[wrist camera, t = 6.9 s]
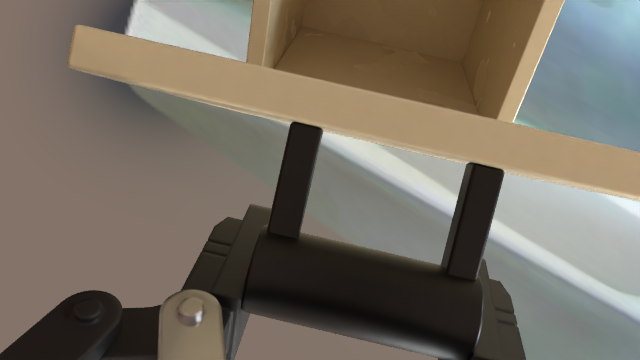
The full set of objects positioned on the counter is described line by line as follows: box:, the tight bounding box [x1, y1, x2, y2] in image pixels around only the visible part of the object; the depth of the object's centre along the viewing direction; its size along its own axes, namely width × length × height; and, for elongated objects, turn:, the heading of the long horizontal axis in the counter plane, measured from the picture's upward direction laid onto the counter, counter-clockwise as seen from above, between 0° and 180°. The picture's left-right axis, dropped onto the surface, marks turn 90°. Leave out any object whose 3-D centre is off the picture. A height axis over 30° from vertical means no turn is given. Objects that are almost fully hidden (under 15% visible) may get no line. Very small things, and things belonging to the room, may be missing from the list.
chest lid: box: [68, 25, 640, 360], centre depth 17 cm, size 15×13×5 cm
